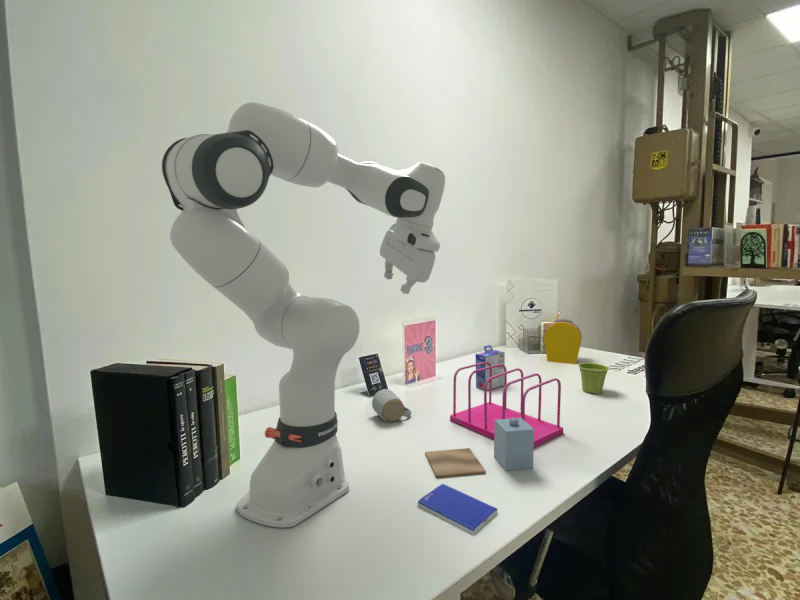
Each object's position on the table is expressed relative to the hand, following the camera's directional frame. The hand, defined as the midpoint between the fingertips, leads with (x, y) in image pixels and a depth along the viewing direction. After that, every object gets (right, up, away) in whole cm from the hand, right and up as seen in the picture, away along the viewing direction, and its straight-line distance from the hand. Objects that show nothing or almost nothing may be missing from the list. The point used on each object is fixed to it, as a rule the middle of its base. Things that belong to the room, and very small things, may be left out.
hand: (395, 285), depth 107 cm
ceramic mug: (-1, -38, +16) cm, 41 cm away
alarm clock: (+72, -30, +78) cm, 111 cm away
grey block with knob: (+27, -41, -10) cm, 50 cm away
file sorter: (+30, -39, +9) cm, 50 cm away
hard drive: (+12, -43, -27) cm, 53 cm away
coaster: (+13, -41, -11) cm, 44 cm away
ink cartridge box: (+33, -35, +44) cm, 65 cm away
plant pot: (+67, -35, +38) cm, 84 cm away
